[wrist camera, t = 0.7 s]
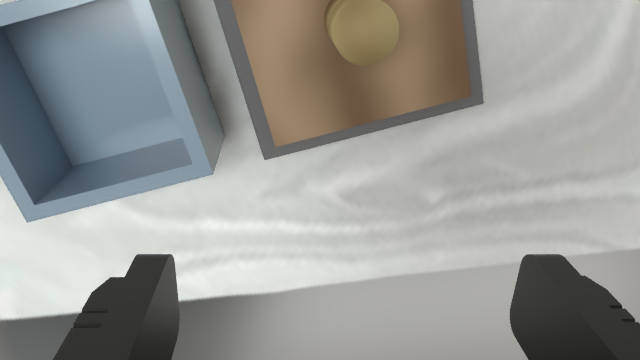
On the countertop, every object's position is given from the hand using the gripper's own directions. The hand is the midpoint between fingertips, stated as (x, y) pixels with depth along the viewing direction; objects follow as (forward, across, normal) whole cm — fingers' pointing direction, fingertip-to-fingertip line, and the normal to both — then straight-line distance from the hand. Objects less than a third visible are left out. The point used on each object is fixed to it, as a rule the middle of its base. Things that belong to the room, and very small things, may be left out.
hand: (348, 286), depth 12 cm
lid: (+20, -2, -4) cm, 20 cm away
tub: (+20, +11, 0) cm, 23 cm away
